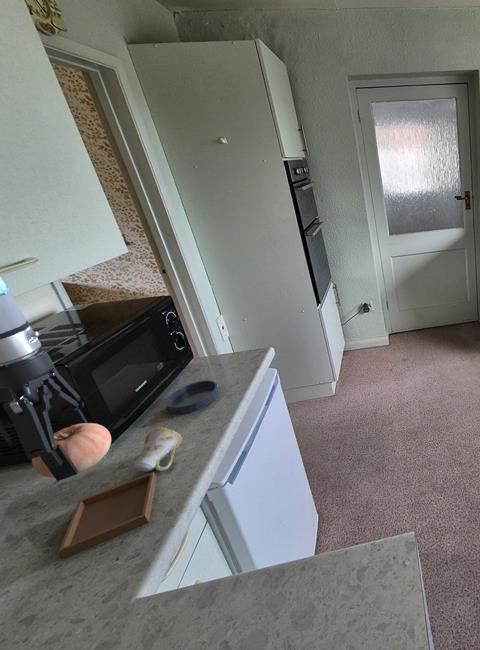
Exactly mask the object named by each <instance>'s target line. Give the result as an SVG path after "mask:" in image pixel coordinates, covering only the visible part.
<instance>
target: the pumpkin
mask: <svg viewBox="0 0 480 650" xmlns="http://www.w3.org/2000/svg"><path fill="white" fill-rule="evenodd" d="M53 434H54V438H55V442H56V445H59V444H60V445H61V446H62V448H63V449H64V451H65V452H66V454H67V455H68V457H69V458H70V460H71V461H72V463H73V464H74V466H75V467H76V469H77V470H78V474H80V473H82V472H85V471H86V470H88V469H90V468H92V467H93V466H95V465H96V464H97V463H98V462H100V461H101V460H102V459H103V457H105V456H106V454H107V453H108V451H109V449H110V447H111V445H112V435H111V433H110V431H109V430H108V429H107V428H106V427H105V426H103V425H101V424H99V423H95V422H94V423H93V422H88V423H82V424H76V425H72V426H70V427H68V428H67V427H64V428H61V429H60V430H57V431H56V432H53ZM31 464H32V467H33V469H34V471H36V473H38V474H39V475H41V476H44V477H47V478H53V479H55V477H54V476H53V474H52V473H51V472H50V470H49V469H48V467H47V466H46V465H45V463H44V462H43V460H42V459H41V458H40V456H39V457H36V458H33V459H31Z"/></svg>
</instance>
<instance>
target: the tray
mask: <svg viewBox="0 0 480 650" xmlns="http://www.w3.org/2000/svg"><path fill="white" fill-rule="evenodd" d="M157 481H158V477H157V475H156V473H155V471H152V472H150V473H147V474H145V475H142V476H139V477H137V478H134V479H131V480H129V481H126V482H123V483H121V484H118V485H116V486H114V487H109V488H107V489H105V490H103V491H100V492H97V493H95V494H92V495H89V496H86V497H84V498H81V499H79V500H78V502H77V504H76V507H75V509H74V511H73V514H72V516H71V519H70V522H69V524H68V526H67V529H66V531H65V533H64V536H63V539H62V541H61V544H60V546H59V548H58V551H57V553H58V554H59V555H60V556H61V558H62V559H66V558H68V557H70V556H72V555H75V554H77V553H79V552H82V551H84V550H85V549H88V548H91V547H94V546H96V545H98V544H101V543H102V542H106V541H108V540H109V539H112V538H115V537H118V536H119V535H122V534H124V533H126V532H129V531H131V530H133V529H136V528H138V527H141V526H143V525H145V524H147V523H149V522H150V517H151V514H152V513H151V512H152V508H153V501H154V496H155V491H156V486H157Z"/></svg>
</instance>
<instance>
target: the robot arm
mask: <svg viewBox="0 0 480 650" xmlns="http://www.w3.org/2000/svg"><path fill="white" fill-rule="evenodd" d="M38 337H40V333H39V332H38V331H34V330H33V328H32V326H31V325H30V323H29V321H28V320H27V318H26V316H25V314H24V313H23V311H22V310H21V308H20V307H19V305H18V303H17V301H16V300H15V298H14V296H13V294H12V292H11V291H10V288H9V285H8V284H6V283H5V281H4V280H3V279H2V277H1V276H0V389H6V390H10V393H11V397H12V399H13V400H12V401H10V402H7V403H4V404H3V409H4V411H5V412H6V414H7V415H8V416H9V418H10V420H11V422H12V425H13V427H14V429H15V432H16V434H17V437H18V439H19V441H20V443H21V446H22V448H23V451H24V453H25V456H26V458H27V459H28V460H32V459H33V458H36V457H39V456H40V458H41V459H42V460H43V462H44V463H45V465H46V466H47V467H48V469H49V470H50V472H51V473H52V474H53V476H54V477H55V478H54V479H55V481H56V482H60V481H63V480H65V479H68V478H71V477H73V476H77V475H78V474H79V473H78V470H77V469H76V467H75V466H74V464H73V463H72V461H71V460H70V458H69V457H68V455H67V454H66V452H65V451H64V449H63V448H62V446H61V445H60V444H59V445H56V442H55V438H54V431H53V427H52V423H51V419H50V415H49V411H50V409H51V408H54V409H55V410H57V411H59V412H60V413H62V414H60V418H61V419H62V421H63V423H64V425H65V426H66V428H68V427H70V426H72V425H76V424H82V423H89V422H88V420H87V419H86V418H85V415H84V414H83V412H82V410H81V409H80V408H83V407H85V403H84V401H83V400H81V397H80V394H78V393H77V392H76V390H74V389H73V387H72V386H71V385H70V384H69V383H68V382H67V381H66V380H65V379H64V378H63V377H62V376H61V374H59V372H58V370H57V368H56V367H55V364H54V362H53V360H52V358H51V357H50V355H49V354H48V352H47V350H46V349H45V348H42V343H41V341H40V340H39V338H38Z"/></svg>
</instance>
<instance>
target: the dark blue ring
mask: <svg viewBox="0 0 480 650" xmlns="http://www.w3.org/2000/svg"><path fill="white" fill-rule="evenodd" d="M220 393H221V391H220V387H219V385H218V383H217V382H216V381H214V380H210V379H206V380H205V379H204V380H198V381H195V382H191V383H189V384H185V385H183V386H182V387H180V388H178V389H177V390H175V391H173V392H172V393H171V394H170V395H169V396H168V397H167V399H166V402H165V403H166V406H167V408H168V409H169V411H170V412H171V414H173V415H186V414H190V413H194V412H197V411H199V410H201V409H203V408H206V407H208V406H209V405H211V404H212V403H214V401H216V399H217V398H219V396H220Z"/></svg>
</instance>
